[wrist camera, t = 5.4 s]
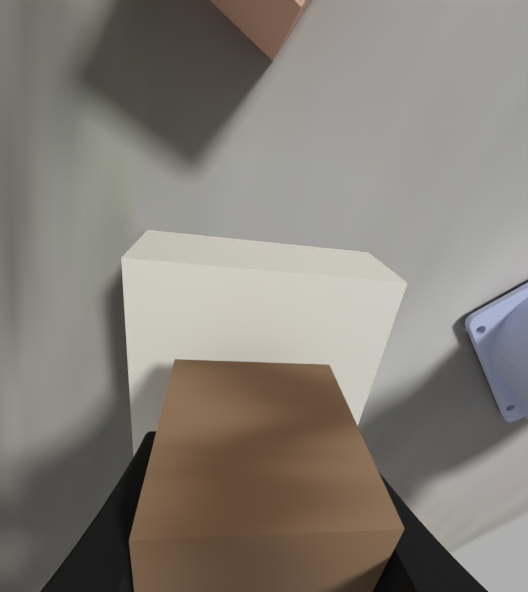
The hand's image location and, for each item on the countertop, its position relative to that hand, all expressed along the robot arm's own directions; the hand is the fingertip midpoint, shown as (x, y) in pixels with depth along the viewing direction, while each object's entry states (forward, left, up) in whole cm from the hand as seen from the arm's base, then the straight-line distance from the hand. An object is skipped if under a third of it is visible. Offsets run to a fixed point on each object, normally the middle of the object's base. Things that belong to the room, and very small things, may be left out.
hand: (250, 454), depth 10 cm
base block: (0, 0, -7) cm, 7 cm away
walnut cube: (0, 0, -1) cm, 1 cm away
